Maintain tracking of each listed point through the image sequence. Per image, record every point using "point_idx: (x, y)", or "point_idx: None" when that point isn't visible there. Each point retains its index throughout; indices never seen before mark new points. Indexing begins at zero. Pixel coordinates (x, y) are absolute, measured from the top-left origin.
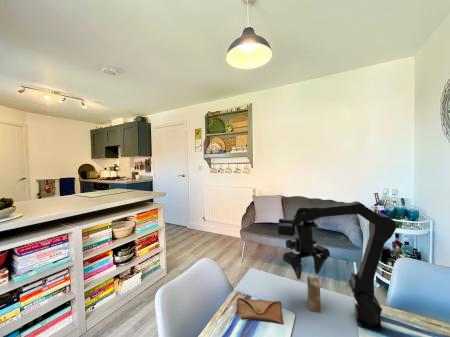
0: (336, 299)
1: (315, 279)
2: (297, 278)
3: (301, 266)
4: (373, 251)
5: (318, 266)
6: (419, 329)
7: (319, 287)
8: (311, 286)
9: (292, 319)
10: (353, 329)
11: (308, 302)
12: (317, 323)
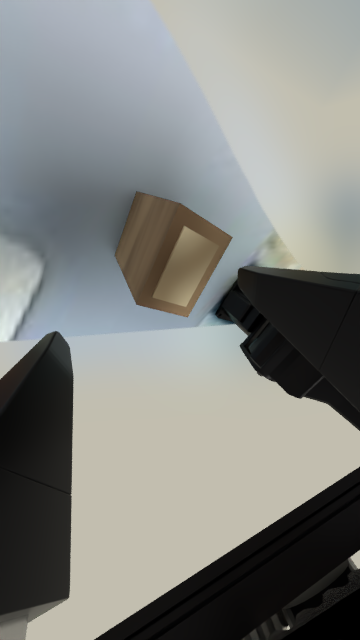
0: (243, 210)
1: (210, 253)
2: (48, 336)
3: (61, 571)
4: None
5: (286, 327)
6: None
7: (184, 315)
8: (149, 305)
9: (24, 292)
10: (194, 320)
11: (127, 225)
12: (116, 307)
